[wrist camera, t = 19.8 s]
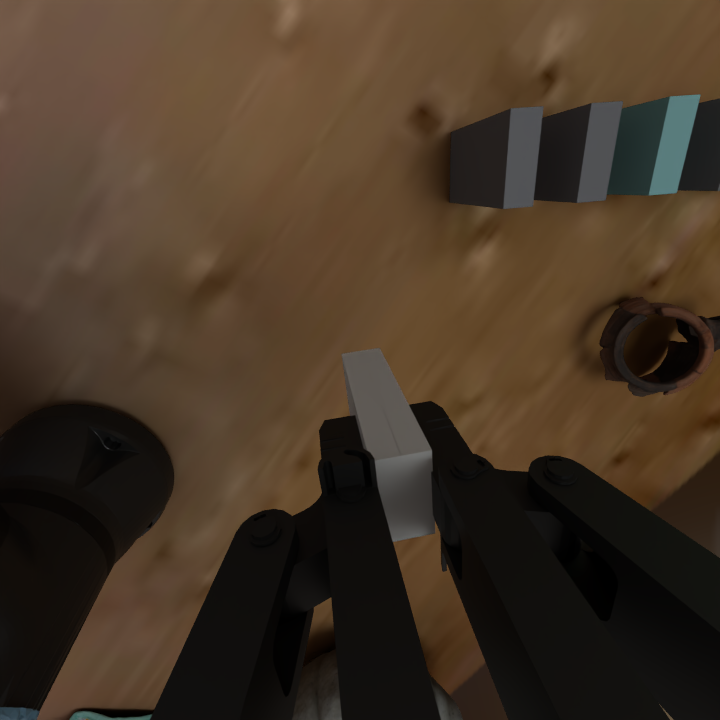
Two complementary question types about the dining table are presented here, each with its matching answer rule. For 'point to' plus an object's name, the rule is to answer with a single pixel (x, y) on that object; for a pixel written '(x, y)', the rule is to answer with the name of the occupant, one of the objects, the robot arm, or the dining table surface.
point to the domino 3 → (703, 150)
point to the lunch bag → (103, 716)
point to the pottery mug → (681, 357)
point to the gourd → (322, 698)
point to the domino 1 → (496, 160)
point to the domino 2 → (577, 153)
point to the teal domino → (652, 146)
